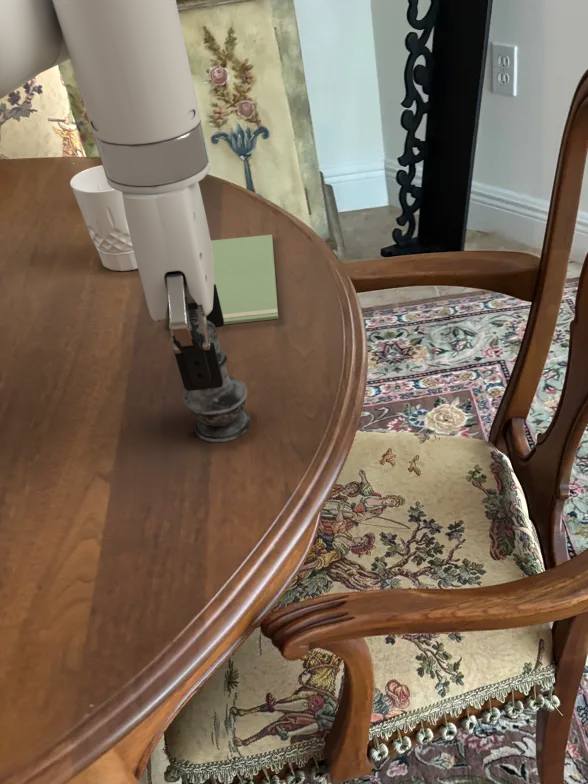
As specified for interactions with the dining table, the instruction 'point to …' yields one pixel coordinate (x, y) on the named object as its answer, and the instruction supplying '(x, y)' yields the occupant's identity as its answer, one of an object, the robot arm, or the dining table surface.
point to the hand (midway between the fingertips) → (205, 355)
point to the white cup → (104, 218)
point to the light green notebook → (245, 278)
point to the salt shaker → (219, 401)
